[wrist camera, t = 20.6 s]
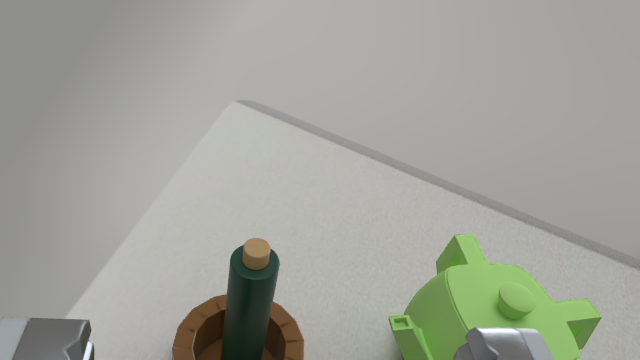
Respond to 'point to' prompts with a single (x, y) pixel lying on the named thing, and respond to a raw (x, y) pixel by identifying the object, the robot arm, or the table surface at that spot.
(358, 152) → the table surface
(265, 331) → the green tube with cork
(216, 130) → the table surface
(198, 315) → the bowl
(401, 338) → the teapot
